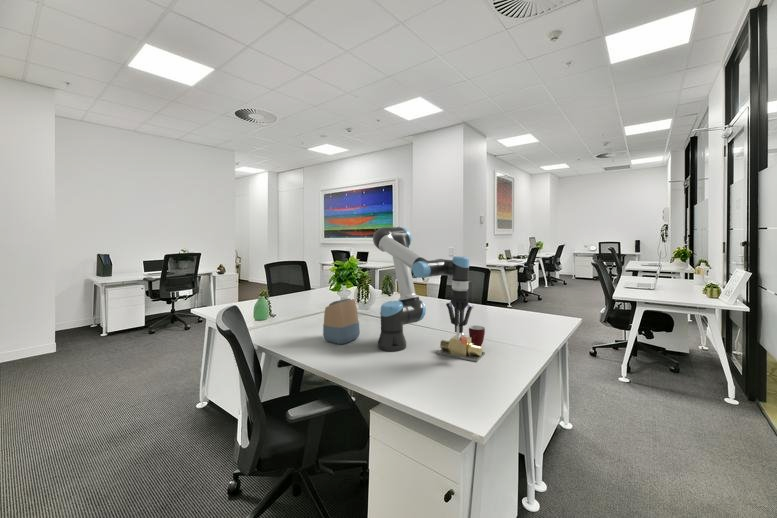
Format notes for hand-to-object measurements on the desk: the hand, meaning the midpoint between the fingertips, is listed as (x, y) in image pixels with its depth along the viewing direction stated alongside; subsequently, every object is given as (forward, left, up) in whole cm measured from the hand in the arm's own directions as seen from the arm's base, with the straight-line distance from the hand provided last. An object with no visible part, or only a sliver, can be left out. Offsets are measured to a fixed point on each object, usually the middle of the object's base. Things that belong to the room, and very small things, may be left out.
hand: (458, 339), depth 160 cm
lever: (+1, +3, -2) cm, 3 cm away
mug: (+2, +21, -10) cm, 23 cm away
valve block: (-1, +7, -10) cm, 12 cm away
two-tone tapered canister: (-67, -6, -10) cm, 68 cm away
